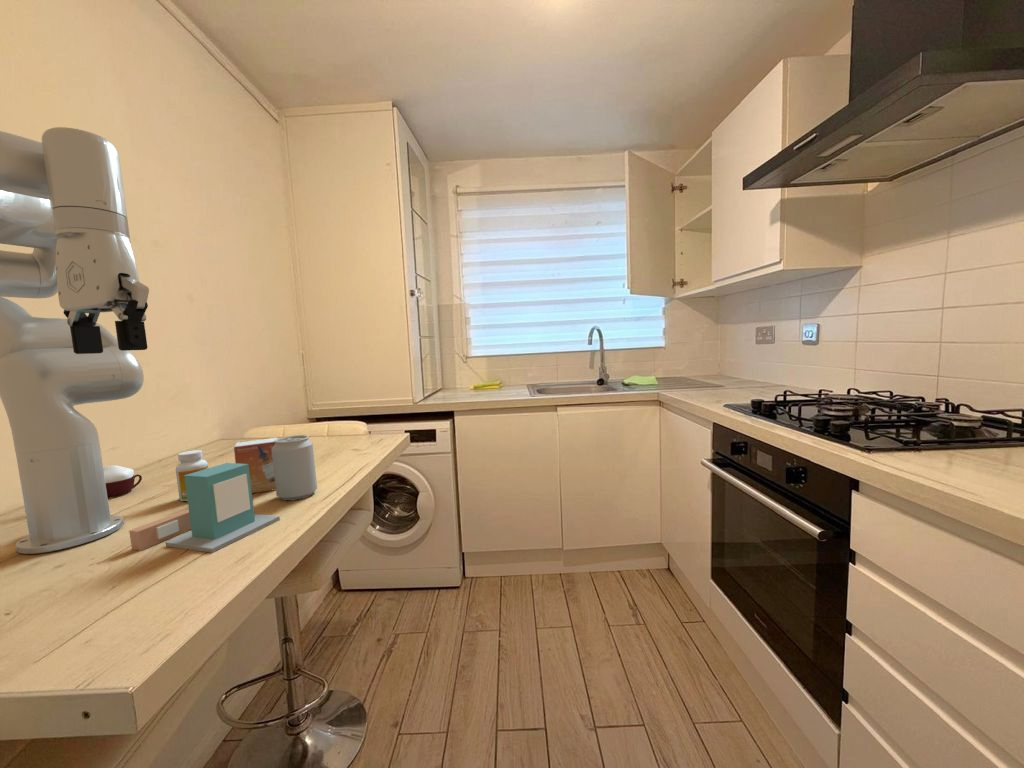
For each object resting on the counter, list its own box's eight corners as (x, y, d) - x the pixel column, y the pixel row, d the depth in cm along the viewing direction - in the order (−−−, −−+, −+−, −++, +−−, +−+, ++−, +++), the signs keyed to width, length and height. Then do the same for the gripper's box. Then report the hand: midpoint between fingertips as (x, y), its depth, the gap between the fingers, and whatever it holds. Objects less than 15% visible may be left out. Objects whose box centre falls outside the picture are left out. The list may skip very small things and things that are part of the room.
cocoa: (143, 488, 99) (139, 437, 99) (141, 494, 94) (137, 440, 94) (86, 497, 94) (81, 443, 93) (81, 504, 89) (76, 446, 88)
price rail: (131, 549, 66) (129, 530, 66) (229, 509, 81) (227, 494, 81) (141, 550, 65) (139, 531, 65) (238, 510, 80) (236, 494, 80)
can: (306, 501, 83) (300, 440, 82) (268, 503, 83) (262, 442, 82) (324, 488, 91) (318, 432, 90) (289, 489, 91) (283, 434, 90)
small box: (238, 496, 88) (232, 446, 87) (241, 489, 93) (235, 442, 92) (282, 488, 92) (276, 440, 91) (282, 482, 97) (277, 436, 96)
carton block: (233, 518, 74) (226, 462, 73) (255, 521, 73) (249, 464, 72) (192, 536, 68) (184, 475, 67) (215, 539, 66) (208, 476, 65)
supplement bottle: (216, 495, 90) (210, 450, 89) (186, 504, 86) (180, 456, 85) (204, 491, 93) (199, 448, 92) (175, 500, 88) (169, 454, 88)
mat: (166, 546, 66) (165, 542, 66) (237, 515, 78) (236, 512, 78) (212, 552, 63) (212, 548, 63) (279, 519, 74) (279, 516, 74)
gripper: (19, 231, 59) (39, 355, 60) (100, 212, 53) (119, 349, 55) (87, 242, 66) (103, 353, 67) (165, 226, 60) (180, 348, 62)
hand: (110, 351), depth 61 cm, fingers open, 9 cm apart
